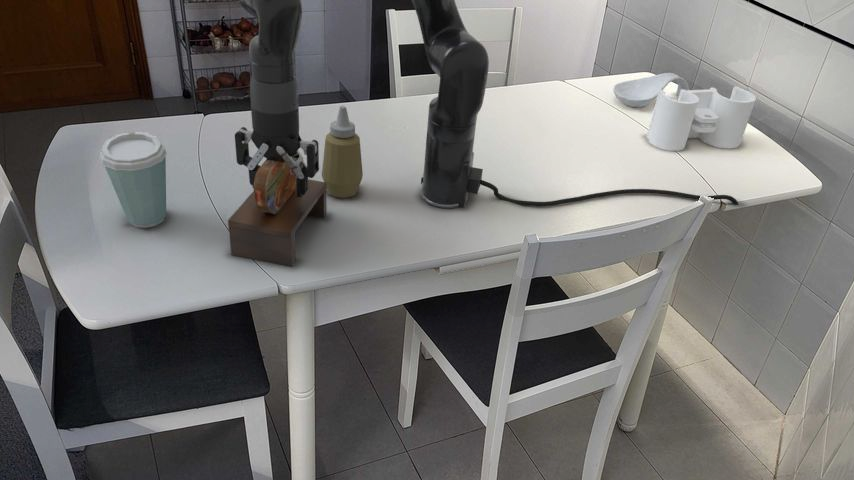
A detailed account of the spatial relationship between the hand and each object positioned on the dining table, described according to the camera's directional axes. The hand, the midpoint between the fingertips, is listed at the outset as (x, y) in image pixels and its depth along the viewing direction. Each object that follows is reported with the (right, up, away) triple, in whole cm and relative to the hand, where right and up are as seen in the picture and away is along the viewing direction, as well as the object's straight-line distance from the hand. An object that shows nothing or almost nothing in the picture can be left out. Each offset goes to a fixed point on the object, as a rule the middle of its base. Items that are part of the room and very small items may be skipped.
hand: (279, 191), depth 129 cm
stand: (-1, -7, +5) cm, 9 cm away
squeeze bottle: (+8, +2, +20) cm, 21 cm away
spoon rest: (+84, +34, +74) cm, 117 cm away
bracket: (+91, +19, +56) cm, 108 cm away
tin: (0, -2, +1) cm, 2 cm away
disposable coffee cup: (-26, -5, +5) cm, 26 cm away
